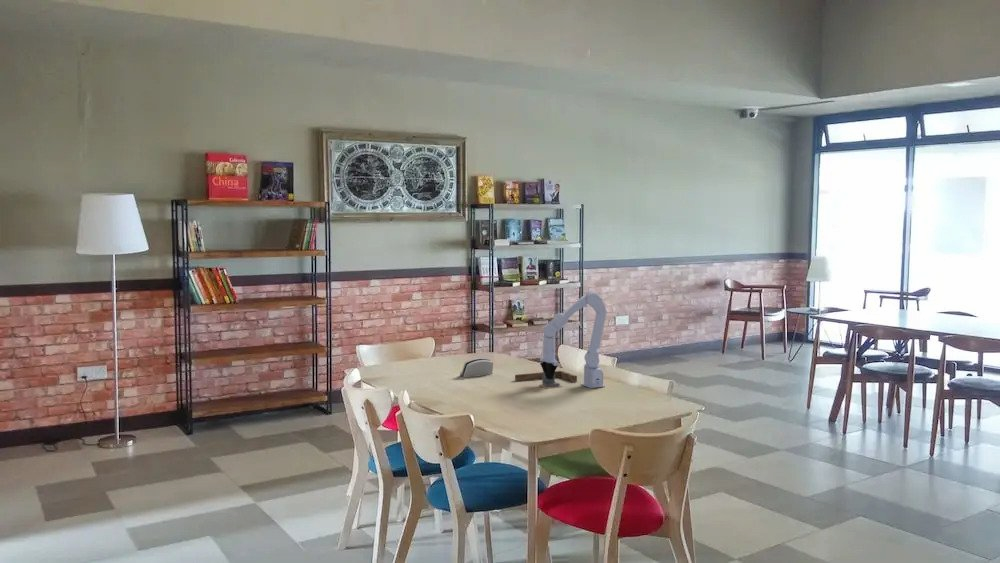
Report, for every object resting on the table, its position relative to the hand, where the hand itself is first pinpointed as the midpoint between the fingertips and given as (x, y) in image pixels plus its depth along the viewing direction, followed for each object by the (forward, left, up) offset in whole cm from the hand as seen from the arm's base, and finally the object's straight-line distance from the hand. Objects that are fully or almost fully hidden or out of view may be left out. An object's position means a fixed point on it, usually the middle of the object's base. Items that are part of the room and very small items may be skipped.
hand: (548, 378), depth 387 cm
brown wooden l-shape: (+9, -3, -3) cm, 10 cm away
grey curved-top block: (+36, +21, -4) cm, 42 cm away
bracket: (-2, 0, -3) cm, 4 cm away
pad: (-2, 0, -3) cm, 4 cm away
